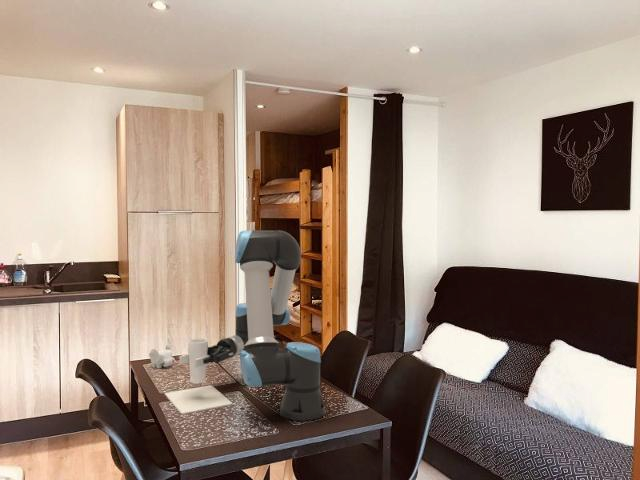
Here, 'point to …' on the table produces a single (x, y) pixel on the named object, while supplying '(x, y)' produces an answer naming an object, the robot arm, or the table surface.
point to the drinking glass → (195, 351)
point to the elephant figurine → (161, 357)
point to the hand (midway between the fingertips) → (188, 361)
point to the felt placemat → (197, 399)
